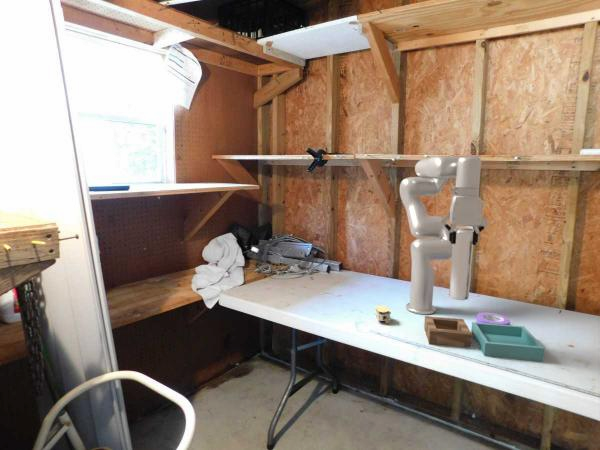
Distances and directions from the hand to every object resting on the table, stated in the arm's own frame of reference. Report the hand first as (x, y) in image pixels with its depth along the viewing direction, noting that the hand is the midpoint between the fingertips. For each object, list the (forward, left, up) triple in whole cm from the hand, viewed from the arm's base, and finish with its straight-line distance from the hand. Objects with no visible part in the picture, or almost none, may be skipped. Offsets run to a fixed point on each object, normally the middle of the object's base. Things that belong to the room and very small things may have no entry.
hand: (462, 243), depth 138 cm
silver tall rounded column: (0, 0, -20) cm, 20 cm away
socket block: (-1, -3, -36) cm, 36 cm away
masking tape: (-16, +17, -36) cm, 43 cm away
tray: (+2, +16, -36) cm, 39 cm away
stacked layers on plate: (-12, -26, -36) cm, 46 cm away
